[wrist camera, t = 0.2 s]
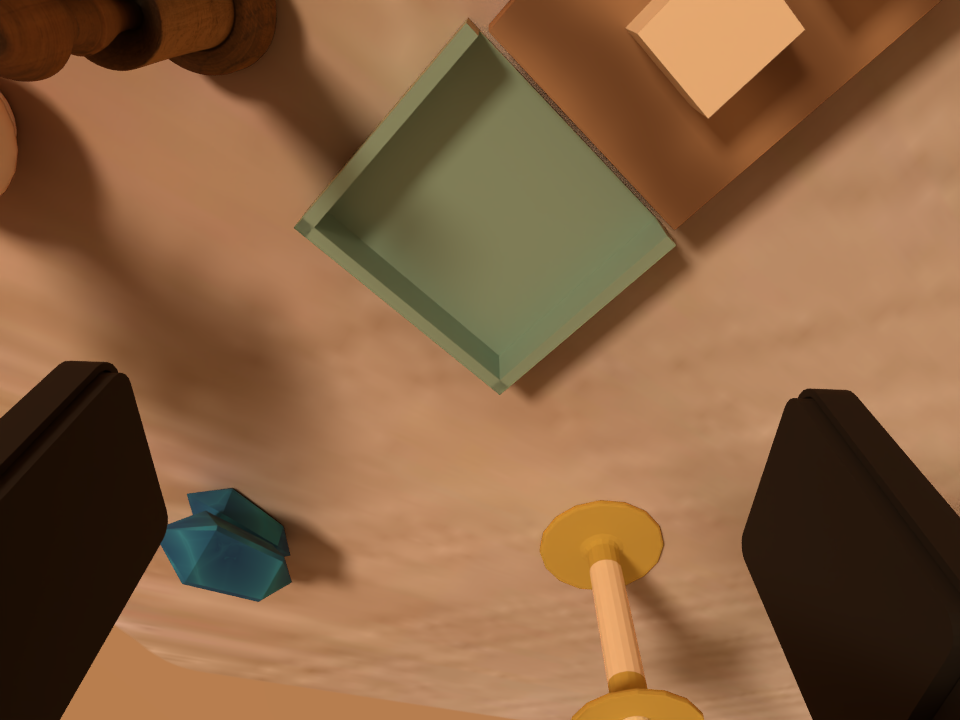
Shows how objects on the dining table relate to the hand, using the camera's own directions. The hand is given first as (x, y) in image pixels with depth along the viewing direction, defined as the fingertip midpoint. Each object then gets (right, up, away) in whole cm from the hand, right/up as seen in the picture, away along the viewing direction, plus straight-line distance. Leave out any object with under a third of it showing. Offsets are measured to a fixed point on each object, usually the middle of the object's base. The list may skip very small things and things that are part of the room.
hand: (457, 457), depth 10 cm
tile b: (+11, +17, +21) cm, 29 cm away
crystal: (-18, -10, +43) cm, 48 cm away
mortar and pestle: (-13, +20, +24) cm, 34 cm away
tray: (+1, +10, +30) cm, 32 cm away
